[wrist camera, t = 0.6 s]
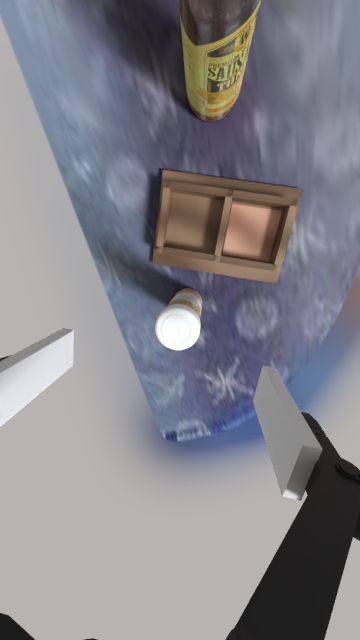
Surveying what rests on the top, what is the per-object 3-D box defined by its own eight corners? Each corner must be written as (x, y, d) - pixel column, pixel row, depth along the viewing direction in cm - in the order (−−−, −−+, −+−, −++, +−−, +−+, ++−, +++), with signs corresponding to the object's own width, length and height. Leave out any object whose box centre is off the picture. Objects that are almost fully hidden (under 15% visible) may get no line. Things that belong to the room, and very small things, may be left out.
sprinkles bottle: (195, 321, 36) (188, 358, 24) (168, 309, 36) (147, 340, 24) (207, 294, 35) (207, 319, 22) (179, 282, 35) (164, 300, 22)
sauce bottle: (210, 137, 29) (215, -71, 10) (176, 94, 29) (117, -216, 10) (252, 91, 28) (351, -260, 9) (218, 44, 27) (245, -458, 8)
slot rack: (163, 171, 31) (159, 163, 28) (300, 190, 30) (310, 184, 27) (153, 262, 35) (148, 263, 32) (275, 283, 33) (281, 285, 31)
